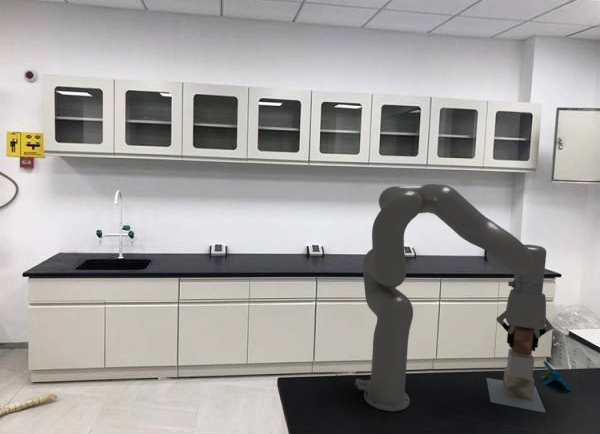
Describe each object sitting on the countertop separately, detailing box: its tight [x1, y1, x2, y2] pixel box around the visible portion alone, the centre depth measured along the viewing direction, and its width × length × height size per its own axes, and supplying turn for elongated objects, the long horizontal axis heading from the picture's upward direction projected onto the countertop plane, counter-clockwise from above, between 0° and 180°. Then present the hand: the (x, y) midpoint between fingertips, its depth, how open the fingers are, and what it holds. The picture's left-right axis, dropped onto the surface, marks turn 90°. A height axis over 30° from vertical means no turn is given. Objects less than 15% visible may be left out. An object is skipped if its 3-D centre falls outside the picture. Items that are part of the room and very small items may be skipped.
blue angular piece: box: [541, 360, 571, 391], centre depth 139 cm, size 11×6×10 cm
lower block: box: [502, 366, 535, 401], centre depth 132 cm, size 7×7×6 cm
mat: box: [486, 377, 547, 413], centre depth 132 cm, size 14×16×1 cm
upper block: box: [506, 348, 535, 380], centre depth 131 cm, size 6×6×6 cm
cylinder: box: [510, 326, 534, 355], centre depth 130 cm, size 6×6×7 cm
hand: (521, 347), depth 131 cm, fingers closed on cylinder, 5 cm apart
